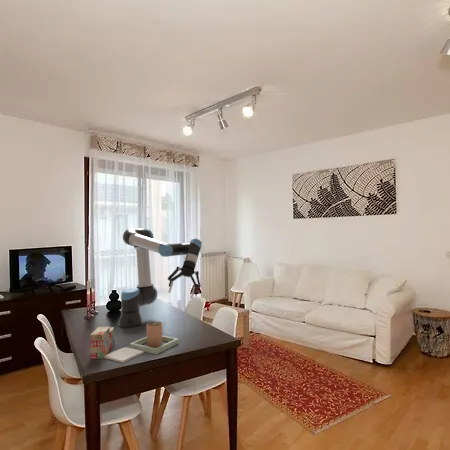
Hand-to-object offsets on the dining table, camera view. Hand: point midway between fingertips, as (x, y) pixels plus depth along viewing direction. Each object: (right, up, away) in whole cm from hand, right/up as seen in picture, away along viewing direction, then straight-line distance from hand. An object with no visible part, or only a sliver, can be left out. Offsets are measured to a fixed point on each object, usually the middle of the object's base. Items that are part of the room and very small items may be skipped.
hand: (180, 295), depth 193 cm
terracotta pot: (-12, -25, -14) cm, 31 cm away
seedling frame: (-12, -25, -14) cm, 31 cm away
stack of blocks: (-38, -25, -21) cm, 50 cm away
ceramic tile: (-25, -25, -28) cm, 44 cm away
